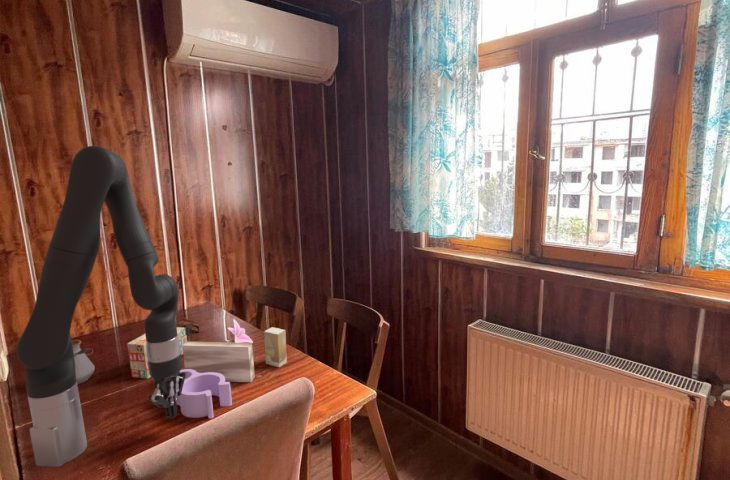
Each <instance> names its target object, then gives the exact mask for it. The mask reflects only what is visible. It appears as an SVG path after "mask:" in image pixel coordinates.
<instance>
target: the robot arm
mask: <svg viewBox="0 0 730 480" xmlns="http://www.w3.org/2000/svg"><path fill="white" fill-rule="evenodd" d="M67 181H68V182H67V187H66V192H65V197H64V202H63V204H62V207H61V210H60V212H59V216H58V219H57V221H56V223H55V228H54V231H53V233H52V237H51V239H50V241H49V245H48V248H47V252H46V254H45V257H44V260H43V264H42V269H41V274H40V277H39V283H38V289H37V295H36V300H35V303H34V307H33V309H32V313H31V314H30V317H29V320H28V322H27V325H26V327H25V328H24V331H23V332H22V333H21V335H20V337H19V339H18V341H17V343H16V348H15V350H16V351H15V352H16V356H17V359H18V361H19V362H20V363H21V364H22V365H23V366H24V368H25V390H26V395H27V400H28V407H29V410H30V415H31V421H32V425H33V426H32V427H30V428H29V436H30V441H31V446H32V450H33V451H32V452H33V457H34V462H35V465H36V467H37V466H38V467H52V468H59V467H62V466H63V465H65V463H68V462H71V461H73V460H75V459H76V458H78V457H79V456H80V455H81V454H83V453H84V452H85V451H86V450H87V448H88V441H87V436H86V429H85V424H84V423H85V422H84V418H83V411H82V406H81V400H80V394H79V392H80V391H79V387H78V385H77V380H76V370H75V360H74V353H73V346H72V340H73V339H72V335H71V327H72V323H73V318H74V315H75V311H76V308H77V305H78V303H79V301H80V299H81V297H82V295H83V293H84V291H85V288H86V286H87V284H88V282H89V280H90V276H91V274H92V272H93V269H94V266H95V263H96V259H97V257H98V253H99V249H100V243H101V213H102V209H103V205H104V204H105V205H106V207H107V210H108V213H109V217H110V219H111V224H112V225H111V226H112V229H113V230H112V231H113V235H114V238H115V242H116V246H117V247H118V250H119V251H120V254H121V256H122V259H123V261H124V264H125V266H127V274H128V282H129V288H130V293H131V297H132V299H133V301H134V303H136V305H137V306H139V308H141V309H143V310H146V311H151V312H150V314H148V316H147V317H146V318H145V319H144V325H143V326H144V334H145V335H146V351H147V358H148V366H149V373H150V376H151V377H150V378H152V379H153V380H154V383H153V388H154V391H153V393H152V394H150V395H149V396H148V397H147V398H148V401H150V402H151V403H152V404H154V405H155V406H156V407H158V408H164V412H165V418H167V419H175V418H176V416H177V415H178V405H177V404H176V402H177V400H178V396H180V395H181V392H182V388H183V384H184V380H185V376H186V373H185V372H180V370H183V361H182V355H181V351H180V343H179V339H178V335H177V327H176V325H177V320H176V316H177V313H178V312H177V311H178V303H179V287H178V284H177V282H176V280H175V279H174V278H173V276H170V275H168V274H165V273H164V274H158V275H156V276H155V271H154V270H155V266H157V265H158V263H159V259H160V258H159V256H158V255H159V254H158V253H157V251H156V248H155V245H154V244H153V241H152V238H151V236H150V235H149V232H148V230H147V228H146V225H145V224H144V221H143V218H142V216H141V213H140V211H139V209H138V205H137V203H136V200H135V197H134V194H133V190H132V186H131V180H130V177H129V173H128V169H127V165H126V163H125V160H124V159H123V158H122V157H121V156H120V155H118V154H117V153H115V152H113V151H111V150H109V149H107V148H105V147H102V146H99V145H88V146H86V147H83V148H82V149H80V150H78V152H77V153H76V154H74V157H73V159H72V162H71V165H70V171H69V176H68V180H67Z"/></svg>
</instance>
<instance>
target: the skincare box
mask: <svg viewBox="0 0 730 480" xmlns="http://www.w3.org/2000/svg"><path fill="white" fill-rule="evenodd" d="M286 334H287V333H286V329H281V328H279V327H274V326H272V327H270V328H267V329H266V330H264V333H263V335H264V351H265V352H264V353H265V364H266V365H269V366H272V367H277V368H281V367H282V366H283V365H285V364H287V362H288V359H287V358H288V357H287V355H288V354H287V336H286Z"/></svg>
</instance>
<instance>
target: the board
mask: <svg viewBox="0 0 730 480" xmlns="http://www.w3.org/2000/svg"><path fill="white" fill-rule="evenodd" d="M182 347H183V354H182V355H183V364H184V369H193V370H195V371H196V372H198V373H207V372H216V373H220V374H222V375H224V377H225V382H230V383H231V382H232V383H235V382H236V383H252V382H253V381H254V379H255V378H256V376H255V375H256V374H255V365H254V351H253V343H250V342H245V343H241V342H240V343H235V342H234V341H233V342H232V341H231V342H229V341H225V342H223V341H217V342H216V341H189V340H187V342H186V343H185V344H184V345H182Z"/></svg>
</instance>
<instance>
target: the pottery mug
mask: <svg viewBox="0 0 730 480" xmlns="http://www.w3.org/2000/svg"><path fill="white" fill-rule="evenodd" d="M199 324H200V322H199V321H197V320H192V319H189V318H185V317H181V320H180V321H178V322H176V327H182V328H185V329H186V335H187V338H188V337H190V336H191V334H192V333H191V332H192V329H193V327H194V328H196V329H197V333H200V330H201V329H200V325H199Z"/></svg>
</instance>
